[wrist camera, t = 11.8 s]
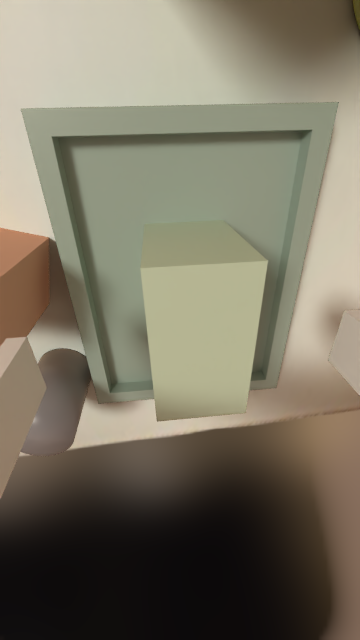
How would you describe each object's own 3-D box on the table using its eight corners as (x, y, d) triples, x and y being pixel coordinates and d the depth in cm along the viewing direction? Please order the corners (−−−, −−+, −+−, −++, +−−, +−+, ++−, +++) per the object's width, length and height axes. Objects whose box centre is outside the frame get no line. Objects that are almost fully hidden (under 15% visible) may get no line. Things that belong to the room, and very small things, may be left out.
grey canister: (47, 389, 22) (16, 458, 17) (31, 350, 20) (-9, 416, 15) (96, 385, 23) (80, 452, 17) (86, 346, 20) (65, 410, 15)
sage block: (154, 339, 19) (156, 421, 14) (144, 223, 15) (140, 268, 9) (217, 335, 20) (245, 413, 14) (223, 220, 16) (268, 260, 10)
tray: (102, 384, 23) (98, 403, 21) (37, 114, 13) (20, 108, 11) (267, 371, 23) (276, 388, 22) (315, 108, 14) (338, 102, 12)
